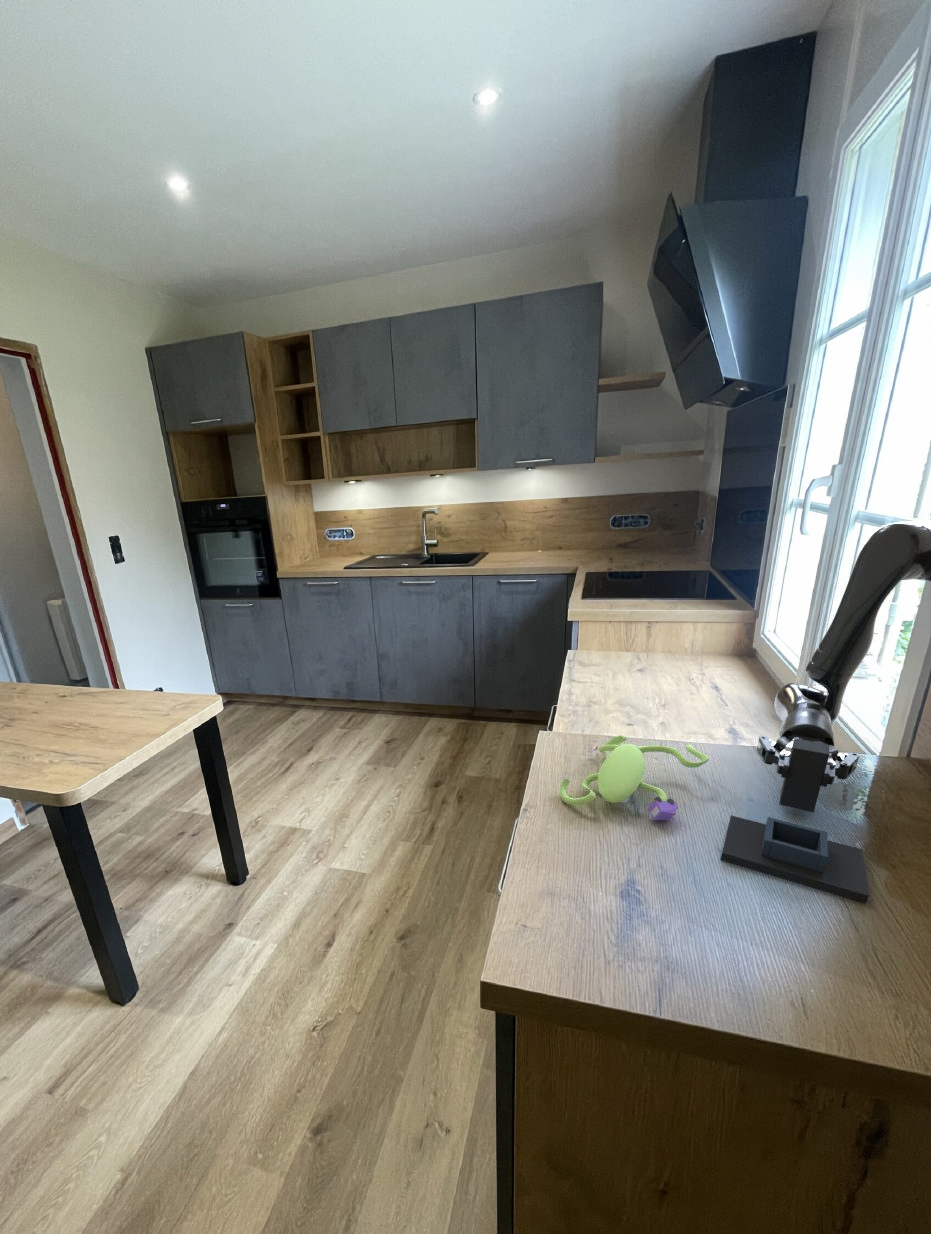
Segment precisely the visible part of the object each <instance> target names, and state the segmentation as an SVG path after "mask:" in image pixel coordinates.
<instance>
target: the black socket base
mask: <svg viewBox="0 0 931 1234" xmlns="http://www.w3.org/2000/svg"><path fill="white" fill-rule="evenodd" d="M724 838H725V839H724V843H723V847H722V851H721V855H720V860H721V861H724V862H726V863H731V864H733V865H737V866H740V867H743V868H747V869H750V870H754V871H757V872H761V873H764V874H767V875H771V876H773V877H778V878H780V879H784V880H787V881H791V882H794V883H797V884H801V885H804V886H807V887H810V888H814V889H817V890H820V891H823V892H827V893H831V894H833V895H836V896H840V897H844V898H847V899H851V900H853V901H858V902H860V903H864V904H866V903H867V901H868V898H869V890H868V882H867V873H866V867H865V860H864V859H865V858H864V852H863V848H859V847H855V846H851V845H847V844H843V843H839V842H835V841H832V840H828V831H825V830H822V829H821V830H820V829H816V828H813V827H810V826H805V825H802V824H797V823H793V822H790V821H785V820H783V819H778V818H774V817H770V816H767V819H766V823H762V822H758V821H754V820H750V819H747V818H744V817H740V816H736V815H733V814H732V815H730V817H729V822H728V825H727V829H726V835H725V837H724Z"/></svg>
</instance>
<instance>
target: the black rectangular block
mask: <svg viewBox="0 0 931 1234" xmlns="http://www.w3.org/2000/svg"><path fill="white" fill-rule="evenodd" d="M828 758H829V744H823V743H818V742H812V741H807V740H801V739H795V738H794V741H793V745H792V749H791V753H790V762H789V770H788V774H787V778H783V783H782V785H781V790H780V796H779V805H780V806H782V807H783V806H784V807H788V808H792V809H796V810H801V811H806V812H810V813H814V812H815V809H816V804H817V802H818V801H817V800H818V798H819V794H820V791H821V787H822V786H821V782H822V779H823V775H824V772H825V769H826V765H827V762H828Z"/></svg>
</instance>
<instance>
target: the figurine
mask: <svg viewBox="0 0 931 1234" xmlns="http://www.w3.org/2000/svg"><path fill="white" fill-rule="evenodd" d="M627 739H628V738H627V736H626V735H617V736H614V737H613V738H611V739H609V740H608V741H607V742H606V743H604V744H602V745H600V746H599V747H598V751H599V753H606V752H605V751H608V752H609V753H608V755H607V756H606V758H605V759H604V761H603V762H602V764H601V767H600V769H599V771H598V772H595V773H591V774H589V775H588V776H586V777H585V778H584V779H583V780H582V782H581V786H582V788H583V789H586V790H587V791H589V793H588V794H587V795H585V796H582V797H575V798H574V797H570V796H569V795H568V794H567V790H568V789H567V788H568V787H569V784H570V780H569V779H568V778H565V779H563V780H562V781H561V784H560V786H559V796H560V799H561V800H562V802H564V803H565V804H567V805H569V806H575V807H577V806H583V805H588V804H590V803H591V802H593V801H594V800H595V799H596V798H597V795H596V792H595V791H593V790H592V789H590V787H589V786H590V784H591V783H592V782H595V781H597V788H598V791H599V794H600V795H601V796H602V798H603V799H604V800H605V801H606V802H608V803H612V804H619V803H623V804H627V803H628V801H629V799H630V797H631V796H632V794H634V793H635V791H636V790H638V788H639V789H642V790H644V791H649V792H652V793H655V794H656V795H657V796H655V797H654V801H652V802H651V804H649V805H648V806H646V809H647V811H648V813H649V814H650V816H651V818H652V820H654V821H665V822H668V821H670V819H672V818H673V817H674V816H675V815H676V814H677V811H676V810H677V809H678V808H679V805H678V804H677V802H675V801H674V800H673V799H672V798H669V797H668V795H667V794H666V792H665V791H664V789H661V788H659V787H657V786H655V785H652V784H648V783H646V782H644V781H642V780H643V777H644V773H645V769H646V768H645V765H646V764H645V757H644V755H643V754H644V753H654V752H655V753H665V754H669V755H672V756H673V757H675V758H676V759H677V761H678V762H679V763H680V764H681V765H682V766H683V767H685V768H689V769H696V768H700V767H701V766H703V765H705V764H706V763H707V762H708V761H709V756H708V755H706V754H705V753H703V752H700V751H699V750H698V749H697V748H695V747H693V745H692V744H686V746H685V749H686V751H687V752H688V753H690V754H691V755H693V756H694V757H696V758H697V759H700V760H701V761H691V760H688V759H686V758H685V756H684V755H683V754H682V752H681V751H679V749H677V748H675V747H671V746H665V745H659V744H658V745H642V746H641V745H640V746H637V745H635V744H633V743H624V742H626V741H627ZM622 743H623V744H622Z"/></svg>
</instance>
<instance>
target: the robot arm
mask: <svg viewBox="0 0 931 1234" xmlns="http://www.w3.org/2000/svg"><path fill="white" fill-rule="evenodd" d="M909 580H918V581H924V582H928V583H931V520H917V521H915V520H914V521H898V522H893V523H888V524H886V525H882V526H881V527H879V528H877V529H876V530H874V531H873V532H872V533H870V535H869V536H868V537H867V538H866V540H865V542H864V543H863V545H862V546H861V549H860V551H859V553H858V556H857V557H856V561H855V563H854V566H853V568H852V572H851V573H850V577H849V580H848V582H847V584H846V586H845V590H844V592H843V595H842V598H841V599H840V603H839V605H838V608H837V610H836V612H835V615H834V617H833V619H832V622H831V624H830V625H829V627H828V629H827V631H826V633H825V634H824V636H823V638H822V639H821V641H820V643H819V644H818V646H817V647H816V649H815V651H814V653H813V654H812V656H811V658H810V660H809V661H808V663H807V665H806V667H805V674H806V676H807V677H808V678H809V679H810V680H812V681H813V682H815V683H817V684H818V685H820V686H822V687H824V688H825V689H826V691H824V690H821V689H818V688H815V687H814V686H813V687H812V686H810V685H806V684H803V683H799V682H791V683H787V684H785V685H783V686H782V687H781V688H780V689H779V690H778V691H777V694H776V696H775V699H774V711H775V713H776V715H777V717H778V718H779V719H780V721H781V722H782V723H781V727H780V730H779V738H777V739H776V740H775V741H773V740H772V739H769V738H768V737H767V736H765V735H760V736H759V737H758V740H757V741H758V742H757V746H756V751H757V754H759V756H760V758H761V760H762V761H763V763H764V764H766V765H769V766H770V765H771V766H772V765H773V764H774V765H776V773H777V775H780V778H783V779H784V778H787V774H788V770H789V762H790V753H791V749H792V745H793V741H794V738H795V739H801V740H807V741H812V742H818V743H823V744H829V758H828V762H827V765H826V769H825V772H824V775H823V779H822V782H821V787H824V788H827V787H828V785H829V786H832V785H834V781H835V778H837V779H838V780H843V781H845V780H847V779H848V778H849V777H850V776H851V775H852V773H854V771H855V770H856V769H857V766H858V762H859V759H860V753H857V752H849V754H848V753H844V754H843V753H840V751H839V750H838V749H837V748H836V747H835V738H834V737H835V736H834V728H833V724H834V723H835V722H836V721H837V720H838V718H839V716H840V712H841V708H842V703H843V699H844V695H845V692H846V689H847V686H848V684H849V682H850V680H851V679H852V677H853V675H854V674H855V673H856V671H857V669H858V668H859V667H860V665H861V663H862V662H863V660H864V659H865V657H866V655H867V654H868V652H869V650H870V648H871V645H872V642H873V640H874V639H873V638H874V633H875V625H876V620H877V616H878V614H879V611H880V609H881V607H882V606H883V603H884V602H885V601H886V599H887V598H888V596H889V595H890V594H891V592H892V591H893V590H894V589H895V588H896V587H897V585H898V584H899V583H900V582H901V581H909ZM836 762H839V763H838V764H837V763H836Z"/></svg>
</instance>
